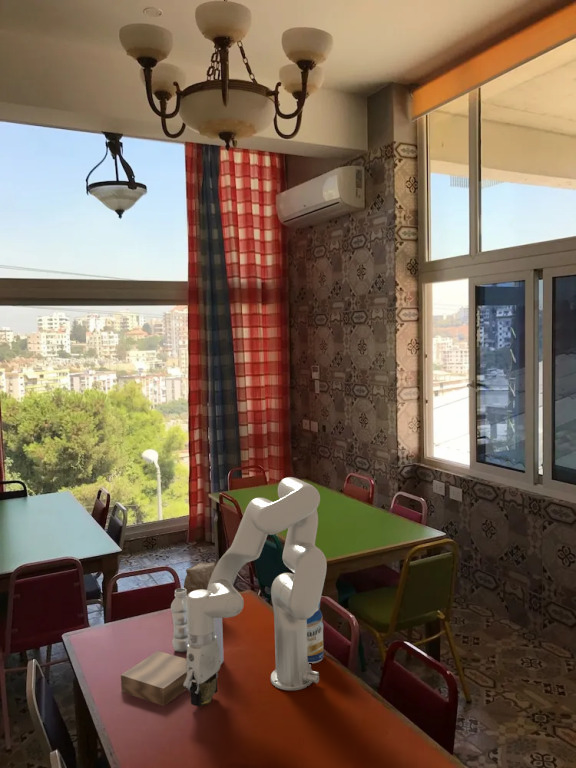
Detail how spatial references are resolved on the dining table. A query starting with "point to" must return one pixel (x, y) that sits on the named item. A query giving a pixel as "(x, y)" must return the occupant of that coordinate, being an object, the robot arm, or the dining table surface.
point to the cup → (207, 689)
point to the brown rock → (198, 577)
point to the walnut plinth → (156, 678)
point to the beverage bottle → (315, 637)
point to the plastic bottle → (180, 620)
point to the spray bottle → (219, 636)
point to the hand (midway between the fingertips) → (204, 697)
